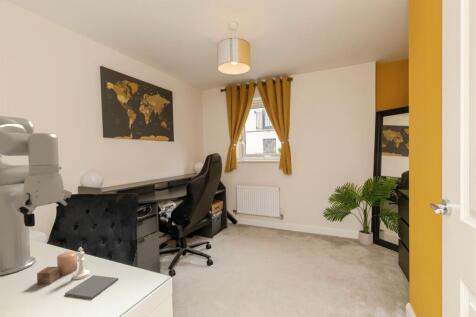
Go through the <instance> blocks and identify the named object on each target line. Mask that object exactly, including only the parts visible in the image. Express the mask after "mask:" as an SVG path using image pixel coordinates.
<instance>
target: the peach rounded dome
mask: <svg viewBox="0 0 476 317" xmlns="http://www.w3.org/2000/svg"><path fill="white" fill-rule="evenodd" d="M77 254H78V252H76V251H68V252H67V251H66V252H64V253H61V254H59V255H57V257H56V259H57V260H56V264H57V266H56V267H59V276H66V275H71V274H72V273H74V272H75V273H76V272H77V271H78V261H77V260H78V258H77V256H78V255H77Z"/></svg>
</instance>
